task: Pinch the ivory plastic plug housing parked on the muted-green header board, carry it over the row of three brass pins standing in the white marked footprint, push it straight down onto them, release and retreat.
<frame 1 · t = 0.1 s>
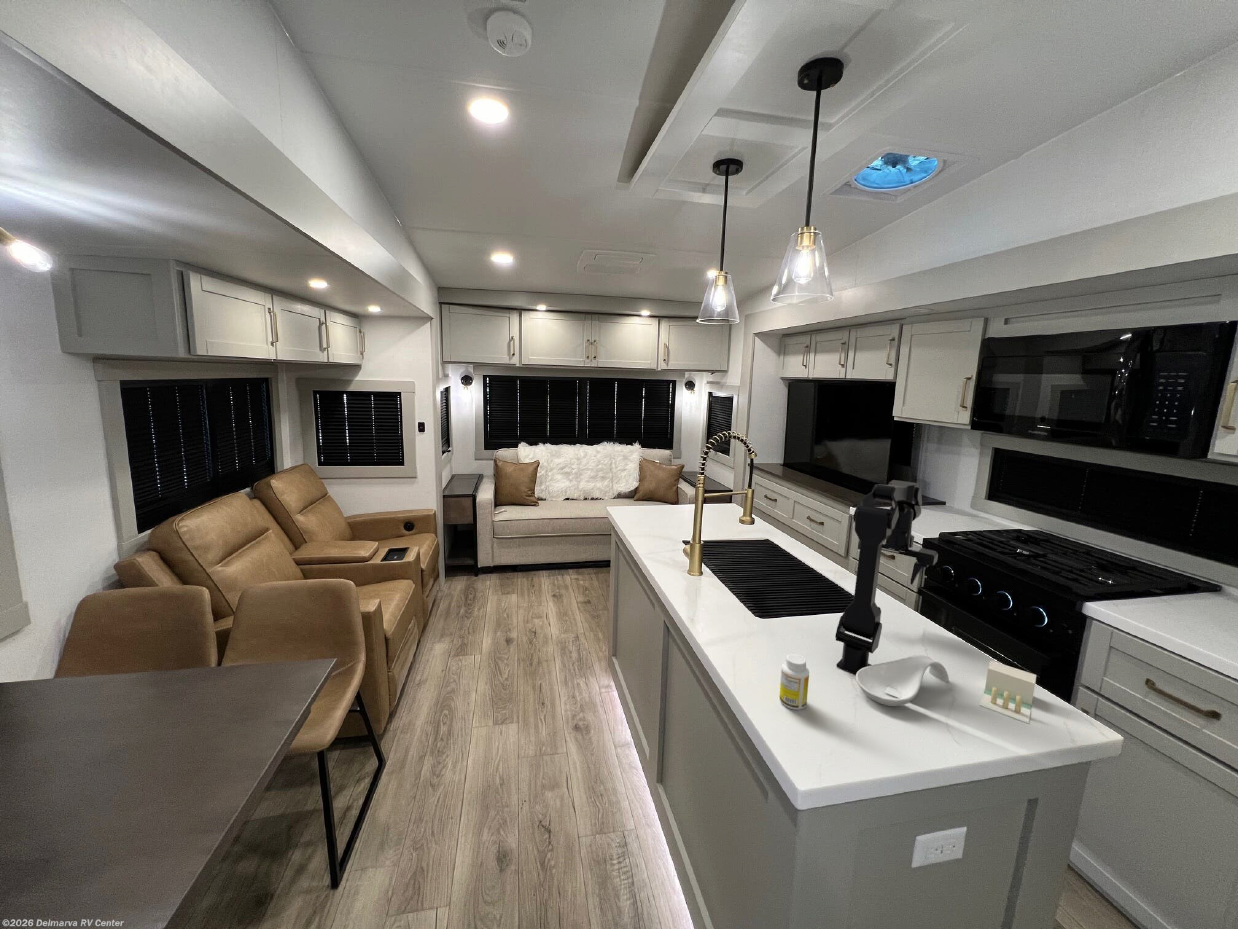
hand: (893, 579, 135), 15 cm above the table, fingers open, 9 cm apart
plug housing: (1008, 692, 107), point 1 cm above the table, touching header board
supplement bottle: (792, 703, 103), on the table
spoon rest: (902, 692, 109), on the table
header board: (1006, 704, 105), on the table
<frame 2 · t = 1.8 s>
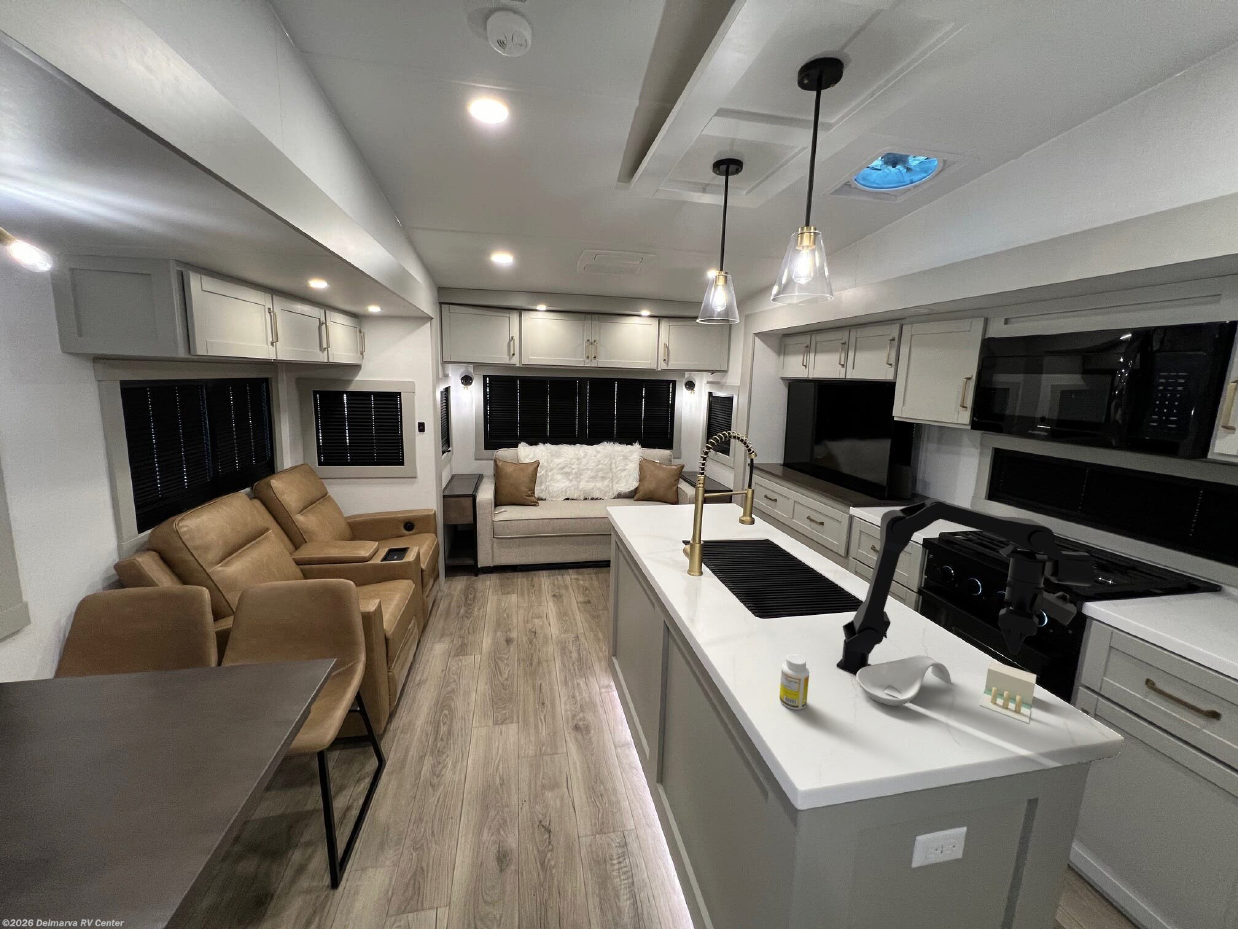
hand: (1015, 646, 105), 12 cm above the table, fingers open, 9 cm apart
nothing on the table moved.
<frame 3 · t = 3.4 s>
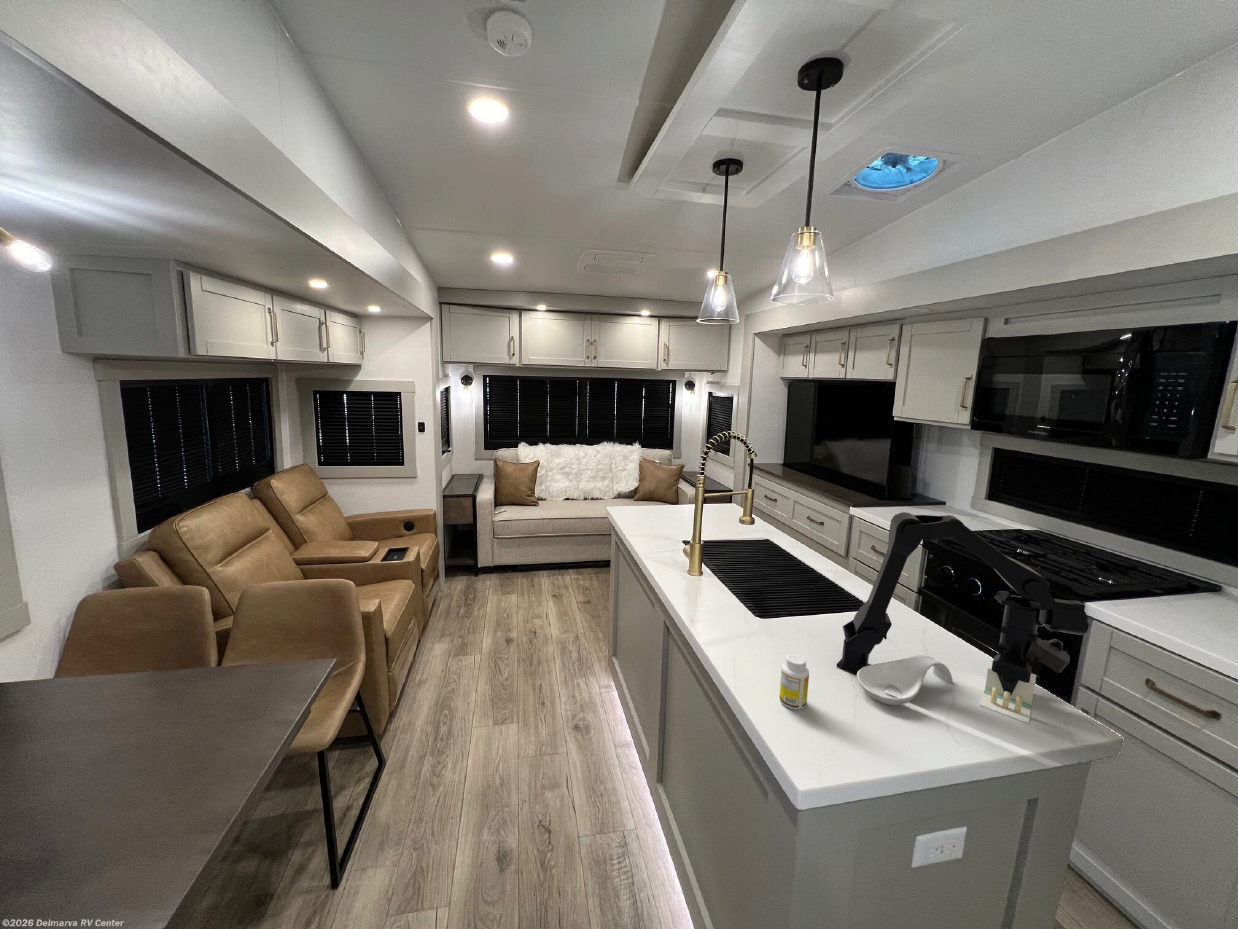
hand: (1008, 690, 107), 2 cm above the table, fingers closed on plug housing, 4 cm apart
plug housing: (1008, 692, 107), point 1 cm above the table, touching gripper, header board
everything else where it was.
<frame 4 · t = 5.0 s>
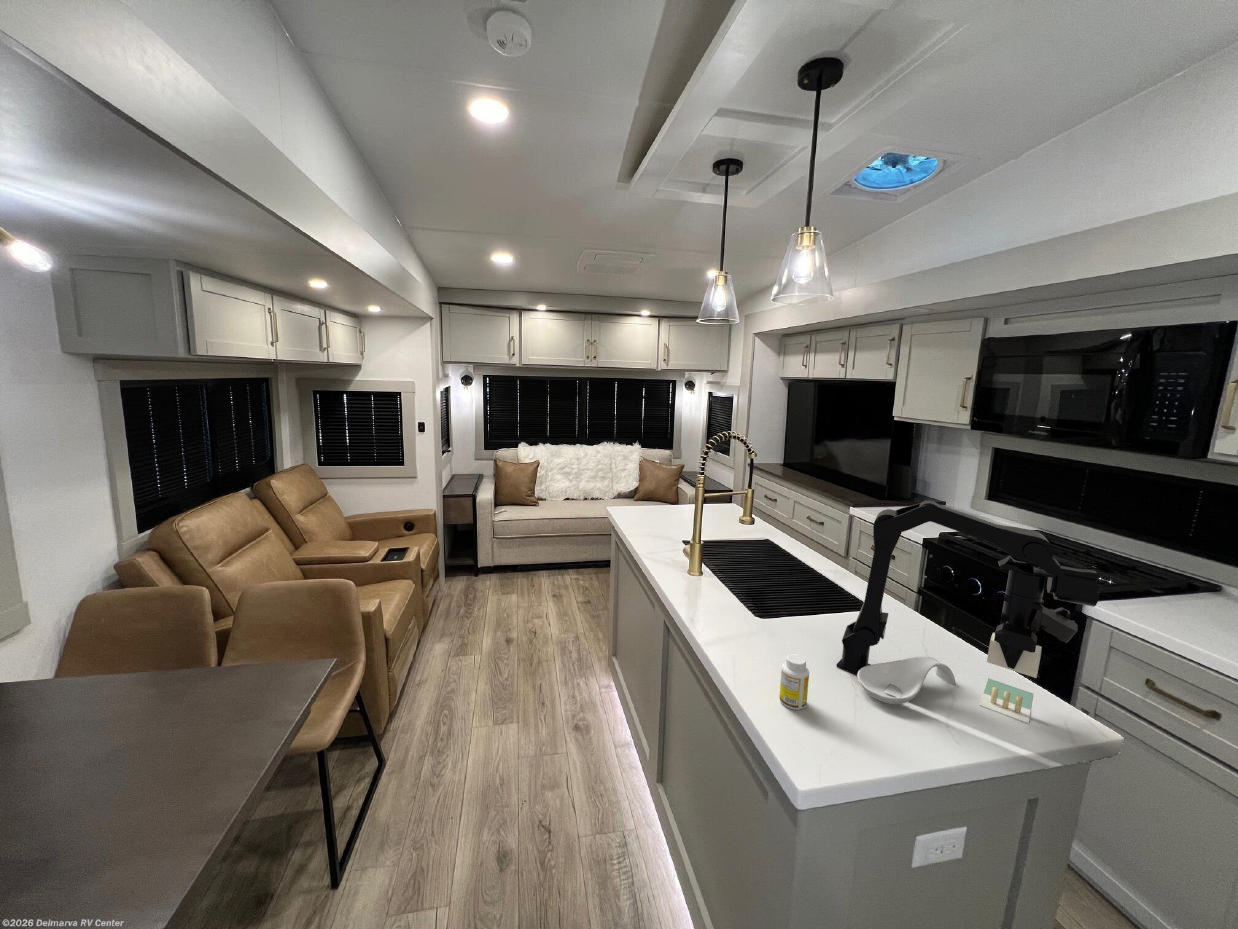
hand: (1011, 663, 100), 11 cm above the table, fingers closed on plug housing, 4 cm apart
plug housing: (1011, 665, 100), point 11 cm above the table, touching gripper
everything else where it was.
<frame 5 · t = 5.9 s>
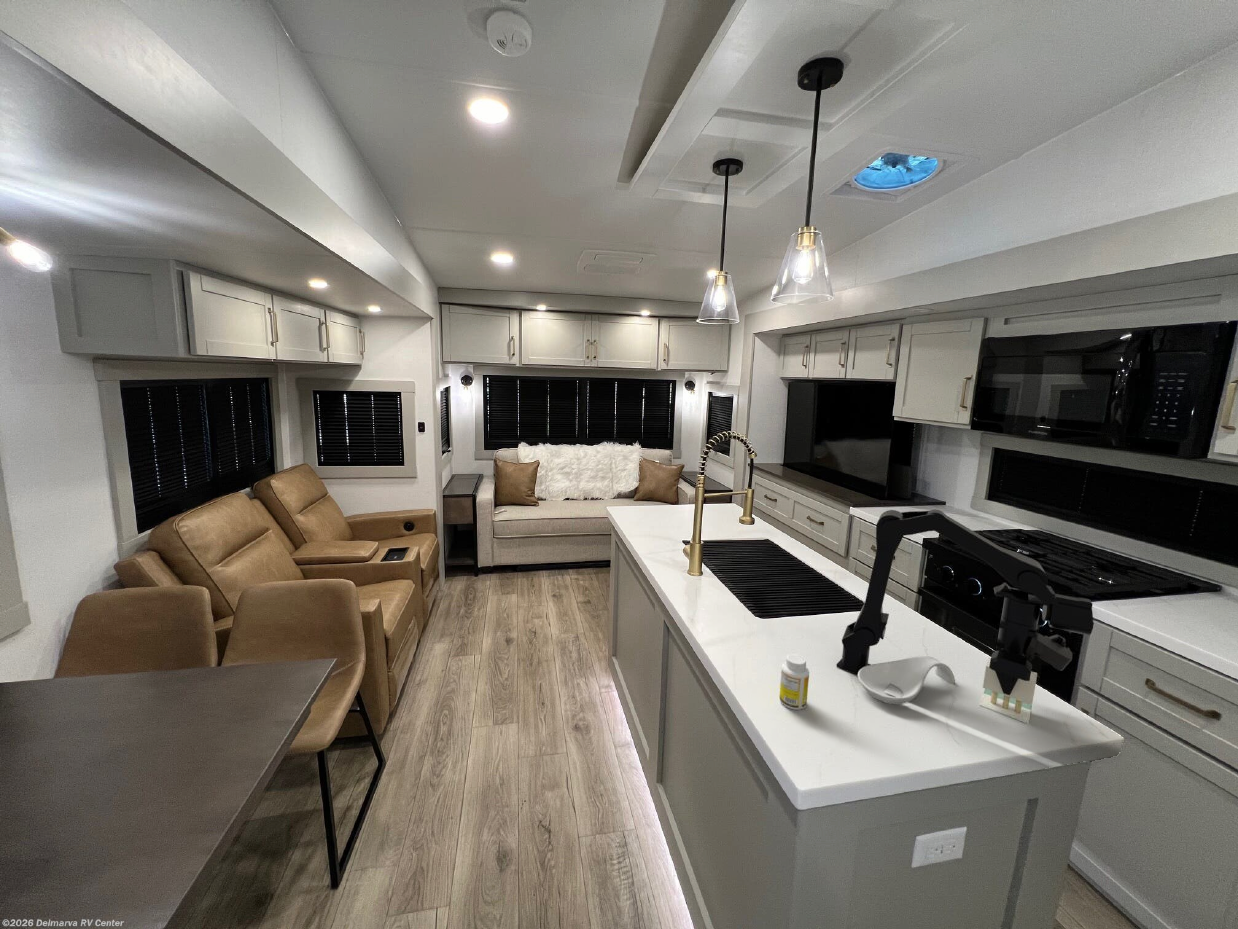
hand: (1007, 689, 101), 6 cm above the table, fingers closed on plug housing, 4 cm apart
plug housing: (1007, 691, 101), point 5 cm above the table, touching gripper
everything else where it was.
when the fingers open (2 cm above the table, at t = 6.8 s): plug housing stays where it is, resting on header board.
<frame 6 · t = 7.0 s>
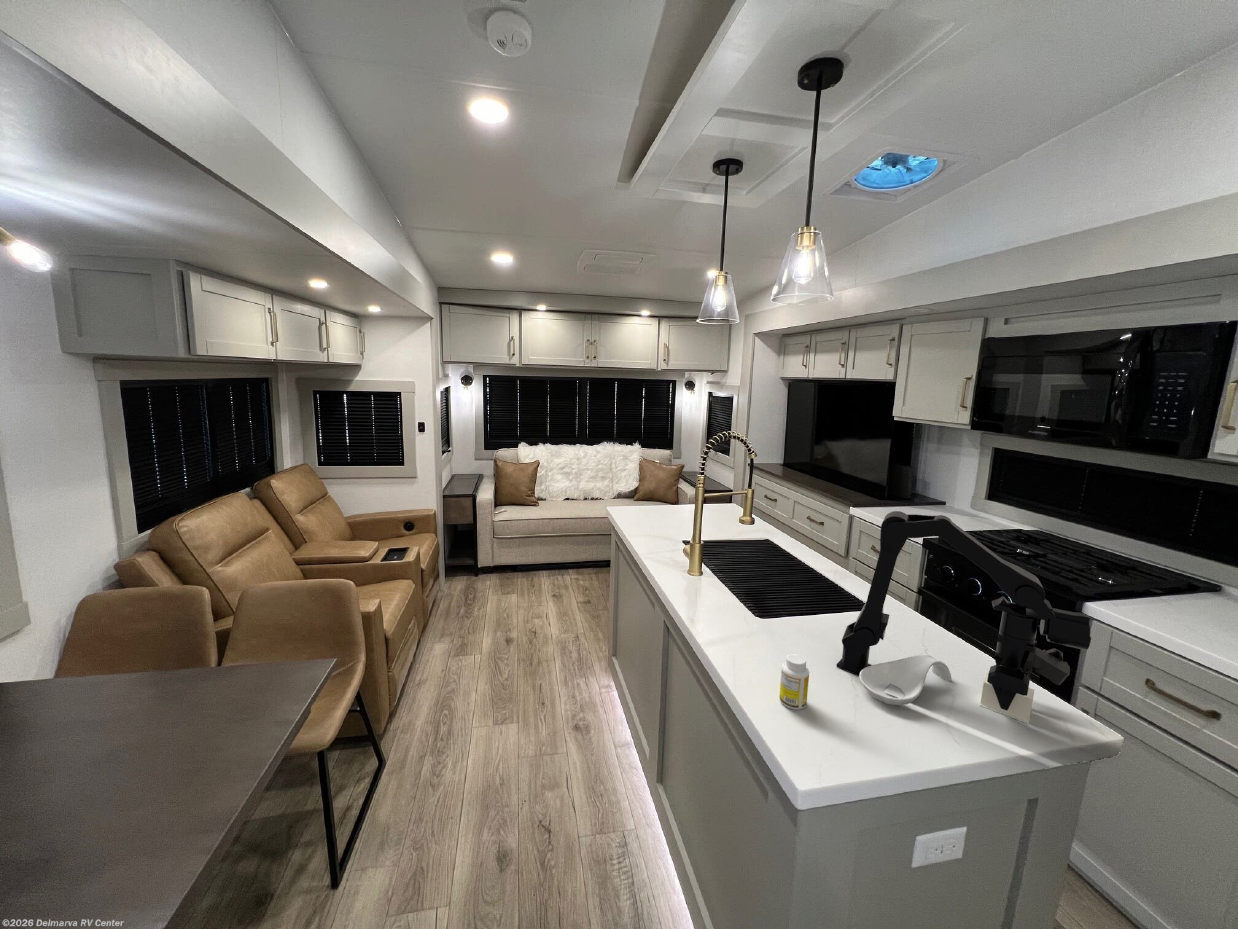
hand: (1005, 702, 101), 2 cm above the table, fingers open, 6 cm apart
plug housing: (1005, 707, 101), point 1 cm above the table, touching header board
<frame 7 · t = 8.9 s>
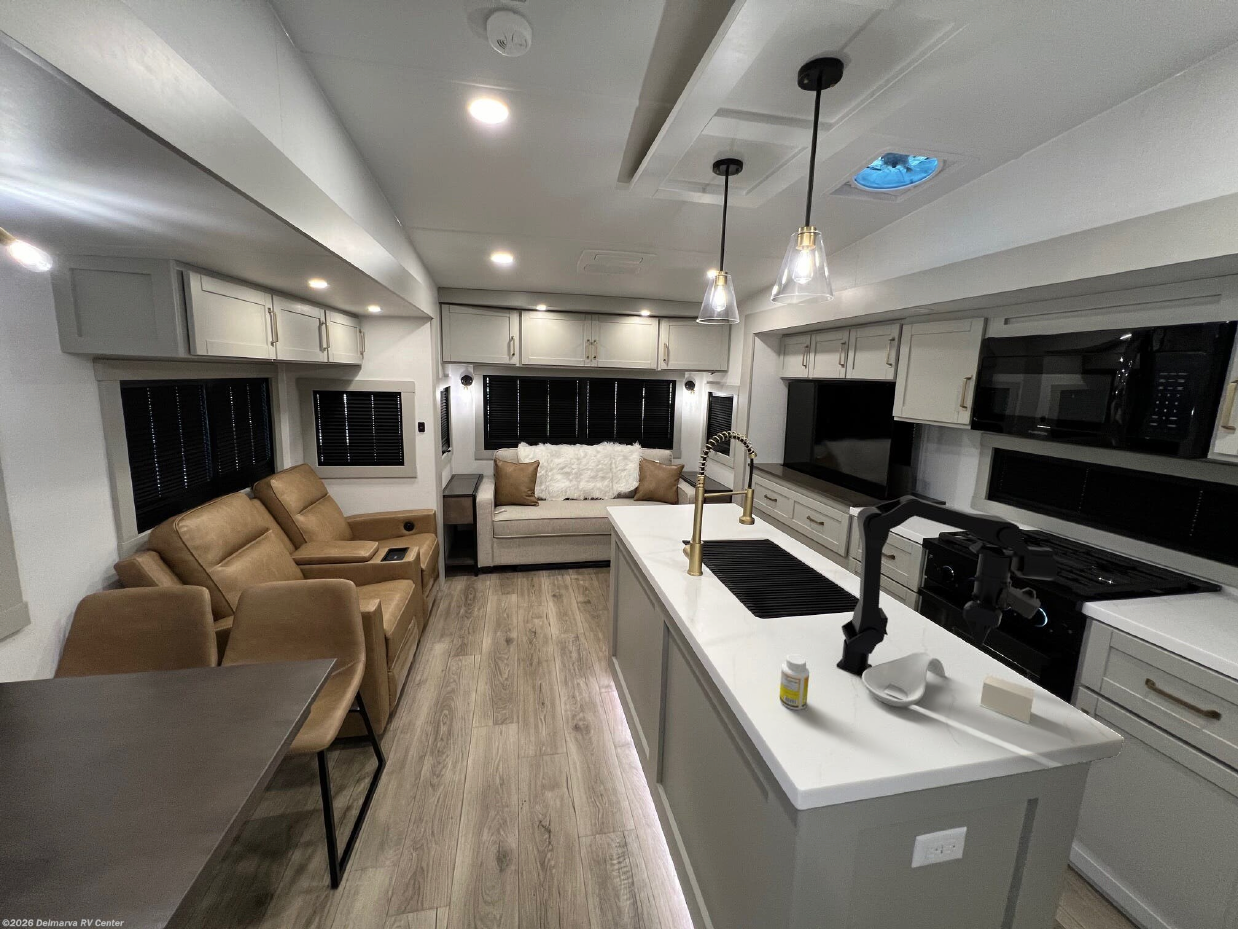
hand: (982, 638, 109), 12 cm above the table, fingers open, 9 cm apart
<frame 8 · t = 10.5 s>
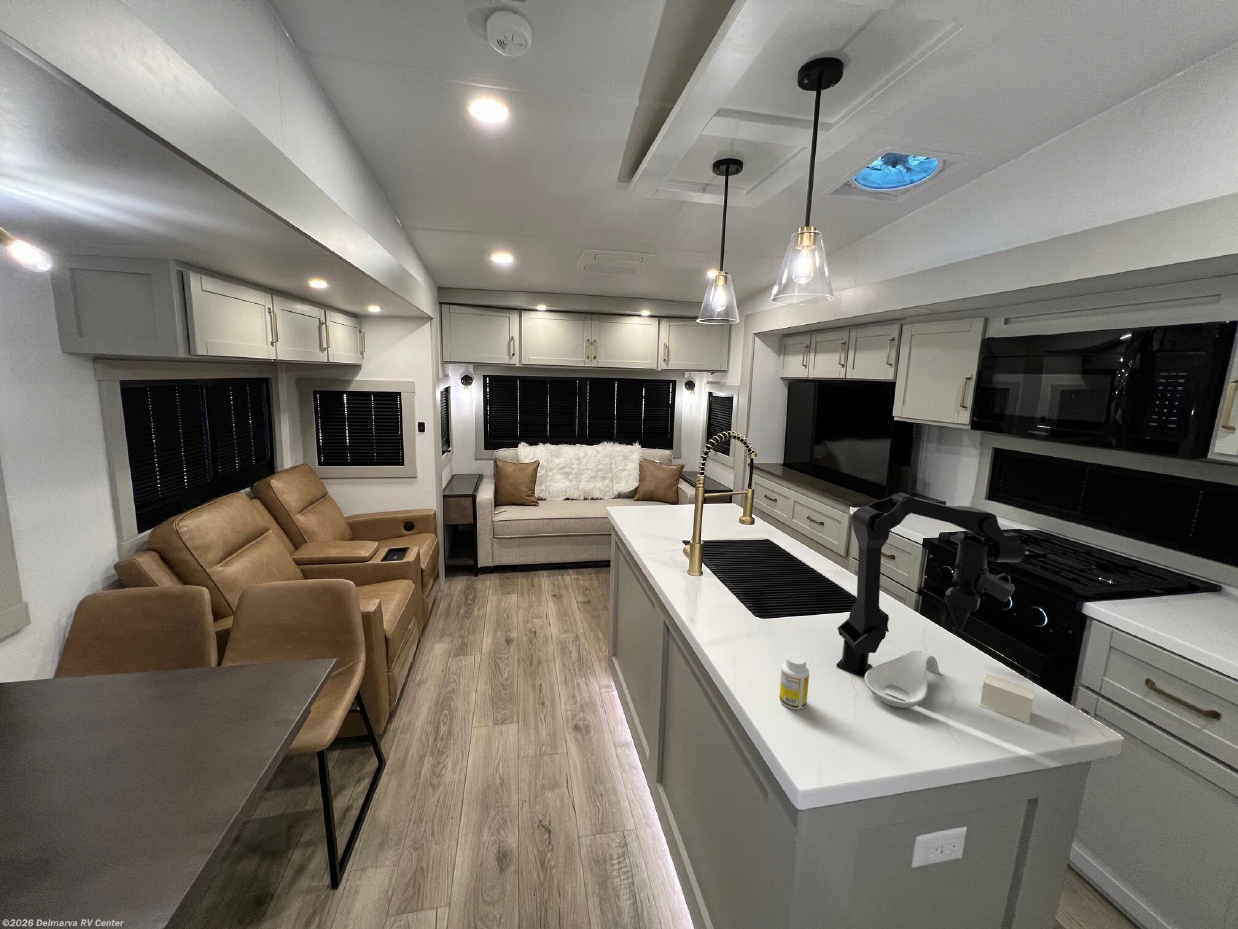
hand: (962, 622, 116), 12 cm above the table, fingers open, 9 cm apart
at the end: plug housing 0.0 cm from the target spot on the header board, point 1.3 cm above the header board's base; plug housing tilted 0°; the gripper is holding nothing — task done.
